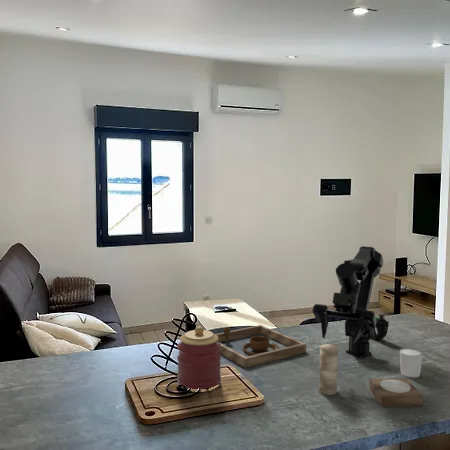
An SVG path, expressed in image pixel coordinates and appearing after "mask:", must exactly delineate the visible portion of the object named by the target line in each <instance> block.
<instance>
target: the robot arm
mask: <svg viewBox="0 0 450 450" xmlns="http://www.w3.org/2000/svg"><path fill="white" fill-rule="evenodd" d="M383 266H384V258H383V255H382V253H380V252H379V251H377V250H376V248H375V247H373V246H364V245H363V246H360V247H359V250H358V252H357V253H356V255H355V256H354V257H353V259H348V260H344V261H343V262H342V263H340V264H339V265H337V267H336V268H335V274H336V277H337V280H338V283H339V285H340V291H339V292H334V293H333V297H332V304H333V308H334V309H329V307H328V305H326V304H321V303H320V304H319V303H315V304H314V305H313V307H312V313H313V315H314V318H315V319H316V320H318V322H319V323H320V326H321V334H322V335H321V337H322V339H325V337H326V336H327V335H326V333H327V330H328V326H329V321H328V320H329V318H330V317H331V318H332V317H333V318H339V319H345V321H344V331H345V334H344V335H345V337H349V338H348V349H346V350H345V353H347V354H350V355H351V356H355V357H357V358H362V357H366V356H369V355H372V352H371V351H370V348H371V347H370V345H371V344H370V343H371V342H370V341H371V340H372V339H373V328H375V329H376V317H377V316H376V313H375V312H374V311H373V310H369V306H370V301H371V295H372V292H373V285H374V279H375V278H376V277H377V276H379V275H380V273H381V269H382V268H383ZM359 281H360V282H359ZM373 340H374V339H373Z"/></svg>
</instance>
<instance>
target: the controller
mask: <svg viewBox="0 0 450 450" xmlns="http://www.w3.org/2000/svg"><path fill="white" fill-rule="evenodd" d="M375 317H376V327H375V328H373V340H376V341H377V340H383V339H384V338H385V337H386V336H387V334H388V329H389V325H390V324H389V323H390V321H388V320H386V319H385V315H384V314H378V316H375ZM376 331H377V332H376Z"/></svg>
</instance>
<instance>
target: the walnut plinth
mask: <svg viewBox="0 0 450 450" xmlns="http://www.w3.org/2000/svg"><path fill="white" fill-rule="evenodd" d="M368 380H369V383H368V385H369V386H368V389H369V390H370V392H371V393H372V395H373V396H374V397H375V399H376V400H377V401H378V403H379V404H380V406H381V407H423V406H424V405H423V404H424V395H423V393H421V392H420V391H419V390H418V389H417V388H416V387H415V386H414V385H413V383H412V382H411V381H410V380H409V379H408V378H369V379H368Z"/></svg>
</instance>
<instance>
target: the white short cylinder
mask: <svg viewBox="0 0 450 450" xmlns="http://www.w3.org/2000/svg"><path fill="white" fill-rule="evenodd" d="M423 355H424V353H423V352H422V351H420V350H417V349H413V348H403V349H402V348H401V349H400V350H399V363H400V366H399V367H400V373H401V375H403V376H404V377H408V378H419V377H420V375H421V370H422V363H423Z"/></svg>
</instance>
